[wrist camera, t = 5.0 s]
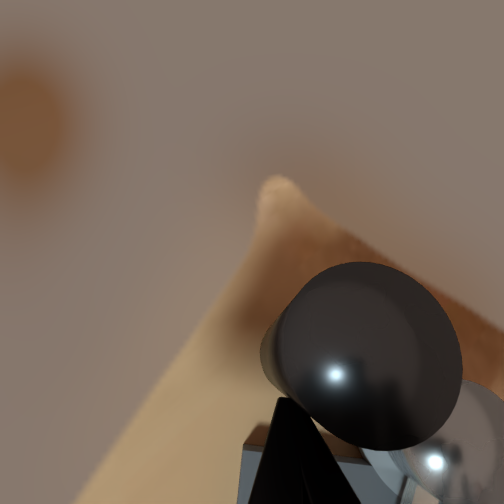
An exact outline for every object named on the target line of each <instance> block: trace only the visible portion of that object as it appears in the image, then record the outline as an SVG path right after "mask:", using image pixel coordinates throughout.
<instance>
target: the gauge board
mask: <svg viewBox="0 0 504 504" xmlns="http://www.w3.org/2000/svg"><path fill="white" fill-rule="evenodd" d="M263 448H264V446H256V445H247V444H243V450H242V459H241V469H240V478H239V488H238V497H237V504H248V500H249V497H250V493H251V490H252V486H253V483H254V479H255V476H256V472H257V469H258V466H259V462H260V459H261V455H262V452H263ZM358 448H359V450H360V453H361V455H362V457H363V458H364V459H361V458H353V457H345V456H337V455H333V456H334V458H335V459H336V461H337V463H338V464H339V466H340V468H341V470H342V471H343V473H344V475H345V476H346V478H347V480H348V481H349V483H350V485H351V486H352V488H353V490H354V491H355V493H356V495H357V497H358V498H359V500H360V502H361V503H362V504H400V503H401V499H402V496H403V493H404V489H405V486H406V483H407V479H408V478H407V477H406V476H405V475H404V474H403V473H402V472H401V471H400V470H399V469H398V468H397V467H396V465H395V464H394V462H393V461H392V459H391V458H390V456H389V454H388V452H387V451H374V450H369V449H364V448H360V447H358ZM438 504H443V503H442V502H441V501H439V502H438Z"/></svg>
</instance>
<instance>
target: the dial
mask: <svg viewBox="0 0 504 504" xmlns="http://www.w3.org/2000/svg"><path fill="white" fill-rule="evenodd" d="M260 361H261V365H262V368H263V371H264V373H265V375H266V377H267V378H268V380H269V381H270V382H271V383H272V385H274V386H275V387H276V388H277V389H278V390H279V391H280V392H282V393H283V394H284V395H285V396H286V397H288V398H291V399H292V401H293V402H294V403H295V404H297V405H298V406H299V407H300V408H301V409H302V410H303V411H304V412H306V413H307V414H308V415H309V416H310V417H312V418H313V419H314V420H315V421H316V422H318V423H319V424H320V425H321V426H322V427H324V428H325V429H326V430H328V431H329V432H330V433H332V434H333V435H335V436H336V437H338V438H340V439H342V440H343V441H345V442H347V443H349V444H352V445H355V446H358V447H360V448H364V449H369V450H374V451H387V452H388V454H389V456H390V458H391V459H392V461H393V462H394V464H395V465H396V467H397V468H398V469H399V470H400V471H401V472H402V473H403V474H404V475H405V476H406V477H407V478H408V479H407V483H406V486H405V489H404V493H403V496H402V499H401V503H400V504H438V502H439V501H441V502H442V503H443V504H504V402H503V401H502V400H501V399H500V398H499V397H498V396H497V395H496V394H494V393H493V392H492V391H490V390H489V389H487V388H485V387H484V386H482V385H479V384H477V383H475V382H472V381H468V380H463V379H462V371H463V368H462V356H461V351H460V345H459V342H458V339H457V336H456V333H455V330H454V328H453V326H452V323H451V321H450V320H449V318H448V316H447V314H446V313H445V311H444V310H443V308H442V307H441V305H440V304H439V303H438V301H437V300H436V299H435V298H434V297H433V296H432V295H431V293H430V292H429V291H427V290H426V289H425V288H424V287H423V286H422V285H421V284H419V283H418V282H417V281H415V280H414V279H413V278H411V277H409V276H408V275H406V274H404V273H402V272H400V271H398V270H396V269H393V268H391V267H388V266H385V265H381V264H376V263H371V262H350V263H345V264H340V265H337V266H334V267H331V268H328V269H327V270H325V271H323V272H321V273H319V274H318V275H316V276H315V277H314V278H312V279H311V280H310V281H309V282H308V283H307V284H306V285H305V286H304V287H303V288H302V289H301V291H300V292H299V293H298V294H297V295H296V297H295V298H294V299H293V300H292V301H291V303H290V304H289V305H288V306H287V307H286V309H285V310H284V311H283V312H282V313H281V315H280V316H279V317H278V318H277V319H276V321H275V322H274V323H273V324H272V325H271V327H270V328H269V329H268V330H267V332H266V333H265V335H264V337H263V340H262V343H261V348H260Z"/></svg>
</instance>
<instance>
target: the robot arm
mask: <svg viewBox="0 0 504 504" xmlns="http://www.w3.org/2000/svg"><path fill="white" fill-rule="evenodd" d="M248 504H362V503H361V502H360V500H359V498H358V497H357V495H356V493H355V491H354V490H353V488H352V486H351V485H350V483H349V481H348V480H347V478H346V476H345V475H344V473H343V471H342V470H341V468H340V466H339V464H338V463H337V461H336V459H335V458H334V456H333V454H332V453H331V451H330V449H329V448H328V446H327V444H326V443H325V441H324V439H323V437H322V436H321V434H320V432H319V431H318V429H317V427H316V426H315V424H314V422H313V421H312V419H311V417H310V416H309V415H308V414H307V413H306V412H304V411H303V410H302V409H301V408H300V407H299V406H298V405H297V404H295V403H294V402H293V401H292V399H291V398H287V397H279V398H278V400H277V403H276V406H275V410H274V413H273V417H272V420H271V424H270V427H269V431H268V434H267V438H266V441H265V445H264V448H263V452H262V455H261V459H260V462H259V466H258V469H257V472H256V476H255V479H254V483H253V486H252V490H251V493H250V497H249V500H248Z"/></svg>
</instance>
